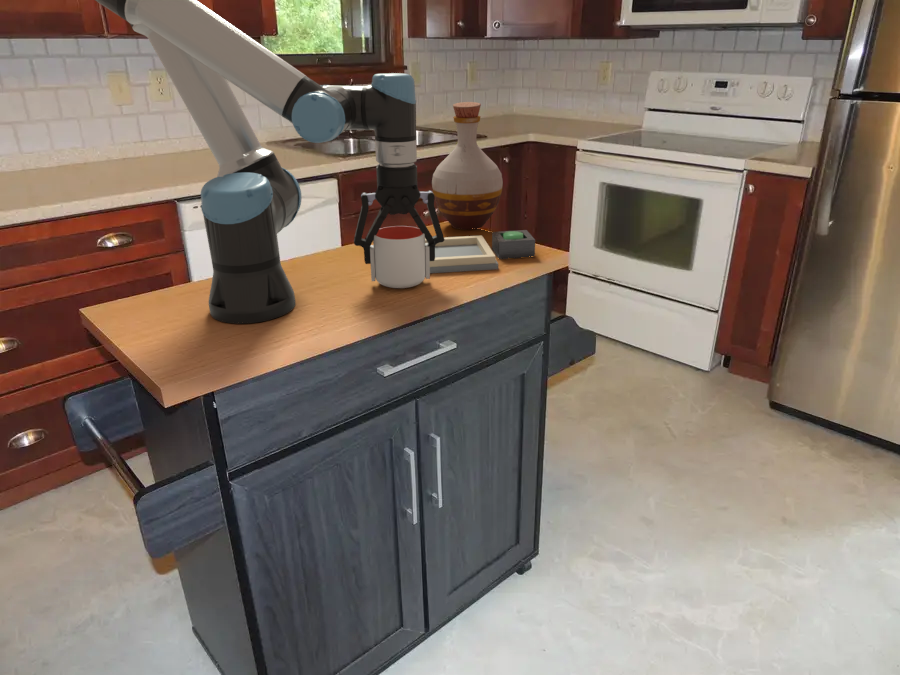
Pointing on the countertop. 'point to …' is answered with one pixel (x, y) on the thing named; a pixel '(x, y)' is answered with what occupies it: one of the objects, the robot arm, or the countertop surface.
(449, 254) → the tray
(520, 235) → the button
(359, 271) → the countertop surface
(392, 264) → the cup
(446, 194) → the jug
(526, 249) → the dark grey square box
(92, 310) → the countertop surface
